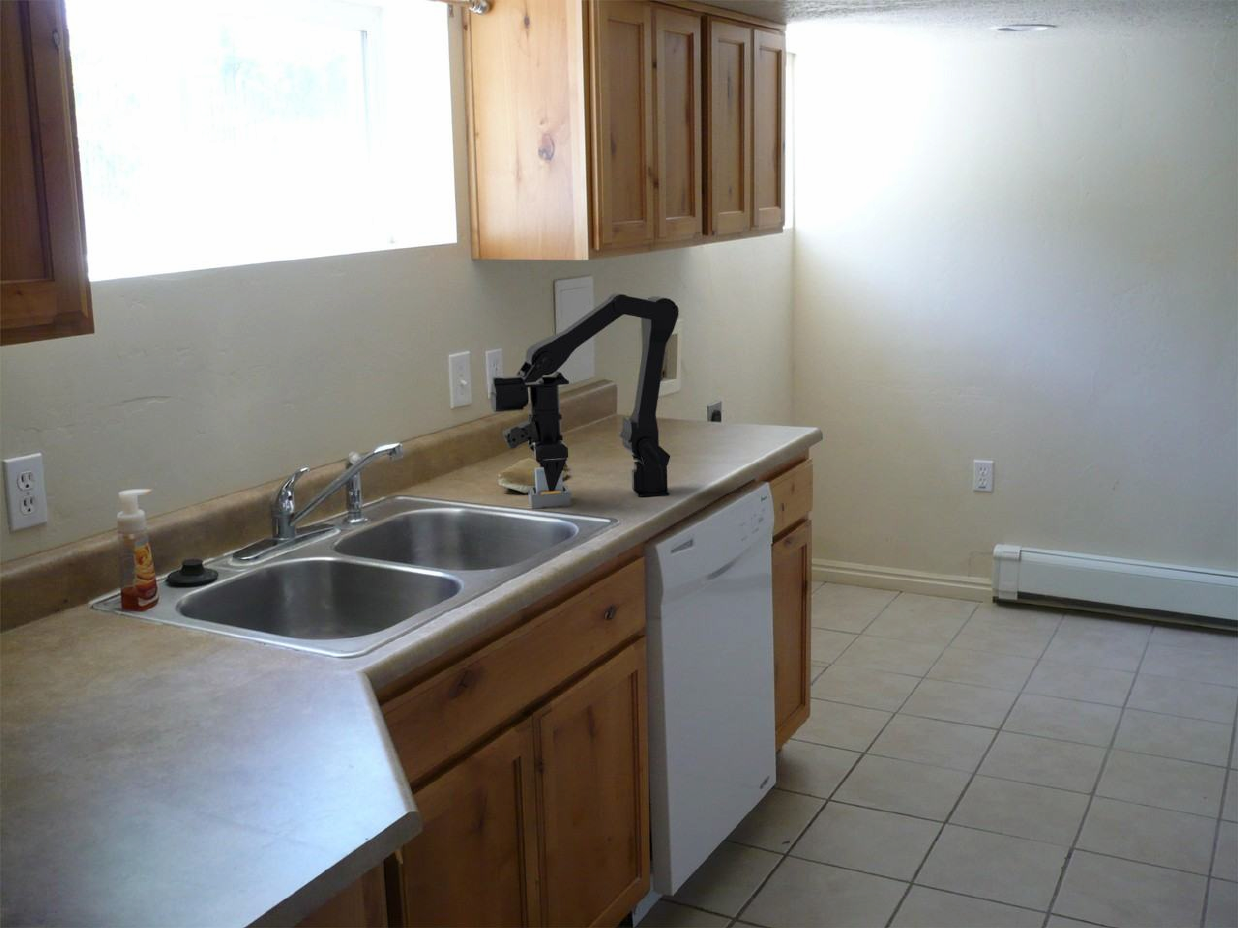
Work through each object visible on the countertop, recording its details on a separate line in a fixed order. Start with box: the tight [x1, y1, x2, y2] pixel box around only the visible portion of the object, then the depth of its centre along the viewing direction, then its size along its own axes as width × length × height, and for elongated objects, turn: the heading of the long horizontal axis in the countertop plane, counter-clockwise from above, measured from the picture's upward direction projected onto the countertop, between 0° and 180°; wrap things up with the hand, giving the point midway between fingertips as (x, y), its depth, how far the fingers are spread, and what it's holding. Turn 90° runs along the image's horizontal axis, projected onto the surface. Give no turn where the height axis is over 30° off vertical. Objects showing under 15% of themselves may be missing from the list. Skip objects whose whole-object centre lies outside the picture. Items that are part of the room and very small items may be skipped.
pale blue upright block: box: [535, 467, 564, 493], centre depth 241 cm, size 5×4×6 cm
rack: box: [527, 483, 572, 509], centre depth 241 cm, size 8×7×3 cm
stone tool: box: [498, 457, 569, 494], centre depth 261 cm, size 12×4×25 cm
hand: (549, 485), depth 241 cm, fingers open, 9 cm apart
